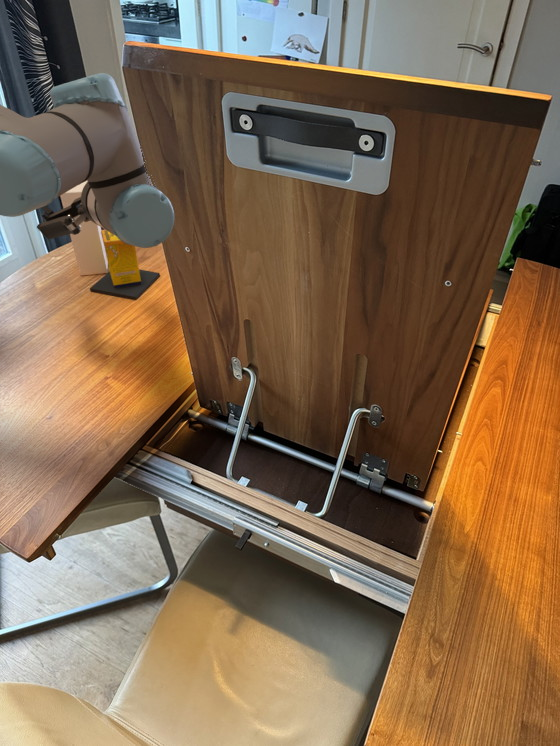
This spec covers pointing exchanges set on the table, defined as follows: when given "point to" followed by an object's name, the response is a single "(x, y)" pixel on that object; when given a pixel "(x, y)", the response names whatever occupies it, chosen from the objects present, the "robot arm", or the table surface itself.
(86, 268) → the milk
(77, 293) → the table surface
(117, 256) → the supplement box
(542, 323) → the table surface
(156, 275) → the mat
